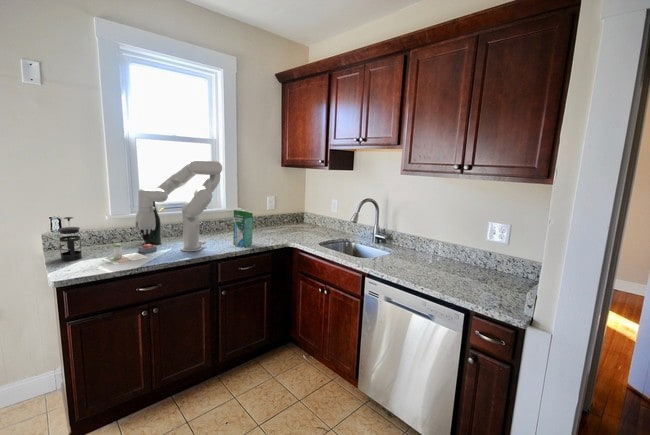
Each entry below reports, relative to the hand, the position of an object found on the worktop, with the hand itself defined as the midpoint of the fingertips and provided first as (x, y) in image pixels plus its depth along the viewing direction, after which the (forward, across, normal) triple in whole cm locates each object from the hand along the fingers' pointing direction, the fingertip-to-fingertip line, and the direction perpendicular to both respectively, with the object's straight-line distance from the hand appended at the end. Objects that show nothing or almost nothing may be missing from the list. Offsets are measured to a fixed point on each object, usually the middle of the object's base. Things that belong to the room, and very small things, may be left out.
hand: (145, 240), depth 190 cm
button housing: (+8, -1, 0) cm, 8 cm away
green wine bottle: (+8, -15, -19) cm, 25 cm away
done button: (+6, -1, 0) cm, 6 cm away
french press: (+9, +31, -16) cm, 36 cm away
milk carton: (+6, -52, +27) cm, 59 cm away
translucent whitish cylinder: (+7, +17, +3) cm, 19 cm away
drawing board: (+8, +14, +5) cm, 17 cm away
